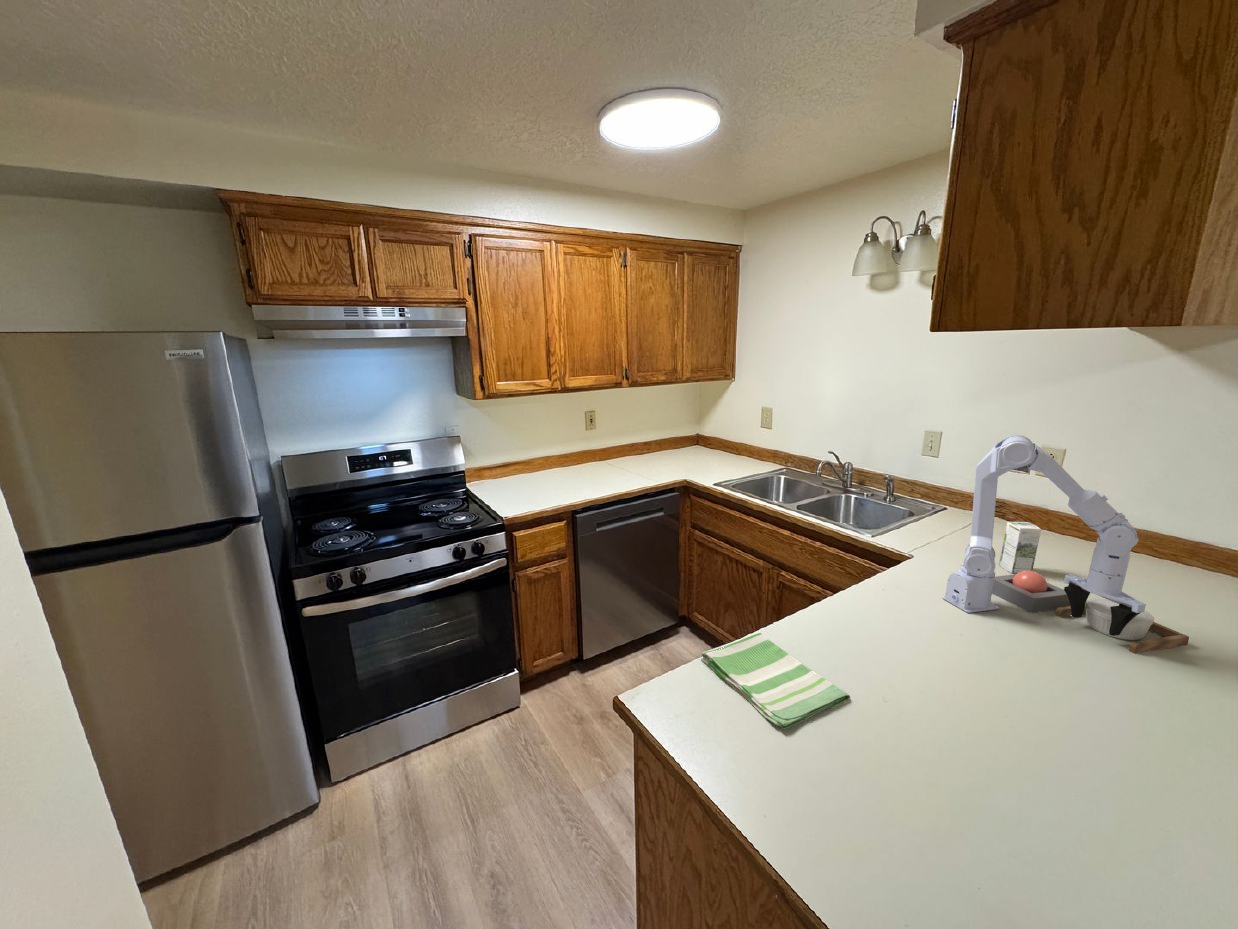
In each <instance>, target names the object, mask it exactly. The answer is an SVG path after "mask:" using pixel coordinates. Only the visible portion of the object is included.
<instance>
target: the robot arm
mask: <svg viewBox="0 0 1238 929" xmlns="http://www.w3.org/2000/svg"><path fill="white" fill-rule="evenodd" d="M1026 466H1027V469H1028V470H1030V471H1033V472H1034V471H1035V472H1040V473H1042V474H1043V475H1044V476H1045V477H1046V478H1047V479H1048V480H1050V481H1051V483H1053V484H1054V485H1055V486H1056V487H1057V488H1059V490H1060V491H1062V492H1063V493H1064V494H1065V495H1066V496H1067V497H1068V502H1067V503H1068V504H1067V506H1068V507H1069V508H1070V509H1071V510H1072V512H1074V513H1075V514H1076V516H1078V517H1079V518H1080V519H1081V520H1082V521H1083V522H1084V523H1085V525H1087V526H1088V527H1089V528H1090V529H1092V530H1095V534H1096V535H1098V536H1099V537H1097V540H1096V543H1095V547H1094V548H1093V553H1092V557H1091V561H1090V564H1089V568H1088V569H1089V570H1088V574H1087V577H1086V578H1084V577H1080V576H1076V574H1066V575H1065V576H1064V581H1063V583H1064V584H1067V586H1064V588H1063V590H1064V591H1065V592H1066V594H1067V597H1068V599H1069V602H1070V607H1071V614H1072V616H1071V618H1074V619H1076V618H1082V617H1083V615H1084V614H1083V612H1084V607H1085V603H1086V601H1087V600H1089V599H1088V598H1089V596H1090V595H1091V594H1093V595H1095V596H1098V597H1099V598H1104V599H1108V600H1110V601H1112V602H1115V603H1117V604H1119V606H1111V607H1110V609H1111V625H1110V629H1109V634H1110V635H1112V636H1116V635H1120V633H1121V632H1122V630H1123V629H1124V627H1125V626H1126V625H1127V624H1128V623H1129V622H1130V621H1131V620H1132V619H1133V618H1134V617H1136V616H1137V615H1138V614H1140V613H1141V612H1144V610H1145V609H1146V607H1147V606H1146V605H1147V604H1146V603H1145V602H1142V601H1140V600H1139V599H1136V598H1135V597H1132V596H1131V595H1129V594H1127V593H1126V592H1123V587H1124V582H1125V579H1126V577H1127V576H1126V575H1127V571H1128V567H1129V562H1130V559H1131V551H1132V548H1133V547H1135V546H1136V545H1137V544H1138V543H1139V541H1140V539H1139V538H1138V533H1137V531H1136V529H1135V528H1134V527H1133V525H1132V523H1130V522H1129V520H1128V519H1127V518H1126V515H1124V514H1123V512H1118V511H1117V510H1116V509H1115V508H1114V507H1113V506H1112V505H1110V503H1109V502H1107V501H1108V500H1109V498H1108V497H1107V496H1106V495H1105V494H1104V493H1101V494H1099V492H1097V491H1095V490H1089V489H1084V488H1083V487H1082V486H1081V485H1080V484H1079V483H1078V482H1077V481H1076V480H1075V479H1074V478H1073V477H1072V476H1071V475H1070V474H1069V473H1068V472H1067V470H1065V469H1064V467H1063V466H1061V465H1060V463H1059V462H1057V460H1056V459H1055V458H1054V457H1053V456H1051V455H1050V454H1049V453H1048V452H1046V451H1045V450H1044V449H1043V448H1041V447H1040V446H1038V444H1035V447H1034V443H1033V441H1031V439H1030V438H1028V437H1027V436H1025V435H1024V436H1023V435H1020V434H1017V435H1016V434H1013V435H1009V436H1008V437H1005V438H1003V439H1002V440H1000V441H997V443H995V445H994V446H993V447H992V448H991V449H990V451H988V452H987V453H986V454H985V456H983V458H982V459H981V460H980V461H979V462H978V463H977V464H976V467H975V477H974V487H973V488H974V489H973V490H974V491H973V501H972V502H973V503H972V516H971V527H970V538H969V543H968V545H967V546H966V548H965V552H964V553H965V555H964V559H963V563H962V564H961V565H960V568H959V569H958V571H956V572H953V573H951V574H950V575H949V576H948V577H947V583H946V589H945V595H942V597H941V598H942V599H943V600H945V601H947V602H949V603H950V604H952V605H954V606H955V607H957V608H959V609H960V610H962V611H964V612H966V613H968V614H969V613H977V612H985V611H993V610H994V611H995V610H998V609H999V608H1000V607H999V606H998V605H996V604H994V603H991V602H992V595H993V594H992V590H993V584H994V579H995V577H996V572H995V570H996V562H995V560H996V559H995V558H996V550H995V549H994V547H993V539H994V537H993V536H994V528H995V526H994V524H995V515H996V503H997V491H998V480H999V477H1000V476H1002V475H1005V473H1007V472H1009V471H1011V470H1015V469H1019V468H1020V469H1021V468H1022V467H1023V468H1024V467H1026ZM1145 611H1146V610H1145ZM1112 636H1111V637H1112Z"/></svg>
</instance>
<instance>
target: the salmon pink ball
mask: <svg viewBox="0 0 1238 929" xmlns="http://www.w3.org/2000/svg"><path fill="white" fill-rule="evenodd" d="M1047 583H1048V582H1047V580H1046V578H1045V577H1044V576H1043V575H1042V574H1040V573H1038V572H1036V571H1033V570H1032V571H1021V572H1019V573H1017V574H1016V575H1015V576H1014V578H1013V585H1015V586H1017V587H1019V588H1022V589H1024V590H1026V591H1028V592H1030V593H1040V592H1046V591H1047V587H1048V586H1047Z"/></svg>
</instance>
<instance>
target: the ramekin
mask: <svg viewBox="0 0 1238 929" xmlns="http://www.w3.org/2000/svg"><path fill="white" fill-rule="evenodd" d="M1085 606H1086V614H1085V615H1086V623H1088V625H1089V626H1090V627H1091V628H1092V629H1093V630H1095V631H1096V632H1099V633H1101V634H1104V635H1106V636H1109V637H1112V638H1117V639H1121V640H1126V641H1140V640H1141V639H1144V638H1145V636H1146V635H1147V634H1148V632H1149V628H1150V626H1151V625H1152V624H1153V622H1155V617H1154V616H1153V615H1152V613H1150V612H1149V611H1147V610H1144V612H1141V613H1140V614H1138V615H1137V616H1136V617H1134V618H1133V619H1132V620H1131V621H1130V622H1129V623H1128V624H1127V625H1126V626H1125V627H1124V629H1123V630H1122V632H1121V633H1120V635H1116V636H1112V635H1110V634H1109V629H1110V625H1111V609H1110V607H1111V606H1119V604H1117V603H1115V602H1112V601H1110V600H1108V599H1105V598H1103V597H1092V598H1089V599H1087V601H1086V603H1085Z"/></svg>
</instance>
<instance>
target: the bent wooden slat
mask: <svg viewBox="0 0 1238 929" xmlns="http://www.w3.org/2000/svg"><path fill="white" fill-rule="evenodd" d="M1084 613H1086V606H1085V607H1084V612H1083V615H1085V614H1084ZM1070 615H1072V614H1071V607H1070V606H1067V607H1060V608H1057V610H1056V612H1055V616H1057V617H1058V618H1063V617H1065V616H1066V617H1071V616H1070ZM1148 632H1152V633H1154V632H1155V633H1154V634H1156V633H1157V634H1156V635H1159V636H1161V637H1156V638H1150V639H1144V640H1135V641H1132V642H1129V646H1128V647H1129V648H1128V652H1131V651H1132V652H1131V653H1133V654H1137V653H1138V652H1139V653H1145V652H1150V651H1149V650H1152V651H1157V650H1165V649H1170V648H1176V647H1183V646H1187V645H1188V644H1189V640H1190V636H1188V635H1186V634H1184V633H1182V632H1179V631H1178V630H1177V631H1176V630H1174V629H1173V628H1172V629H1171V628H1169V627H1168V626H1165V625H1162V624H1160V623H1157V622H1155V621H1154V622H1153V624H1152V625H1151V626H1150V628H1149V630H1148ZM1144 651H1145V652H1144ZM1139 653H1138V654H1139Z"/></svg>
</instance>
